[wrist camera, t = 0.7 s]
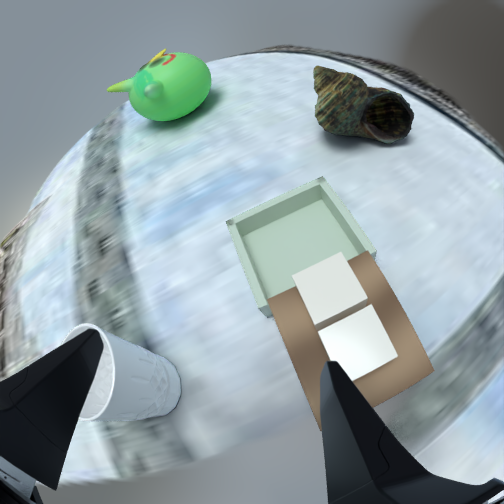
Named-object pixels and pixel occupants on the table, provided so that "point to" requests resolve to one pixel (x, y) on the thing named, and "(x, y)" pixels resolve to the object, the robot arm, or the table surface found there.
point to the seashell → (359, 107)
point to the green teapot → (167, 86)
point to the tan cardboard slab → (306, 336)
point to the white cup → (128, 381)
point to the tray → (294, 237)
